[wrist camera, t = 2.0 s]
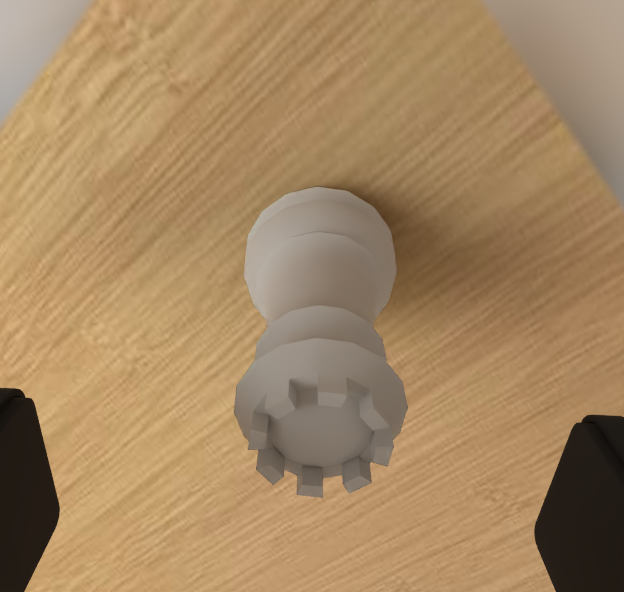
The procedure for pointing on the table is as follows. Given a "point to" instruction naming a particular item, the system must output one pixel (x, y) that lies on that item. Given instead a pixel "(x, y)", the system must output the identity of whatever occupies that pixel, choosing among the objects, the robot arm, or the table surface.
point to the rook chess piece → (320, 341)
